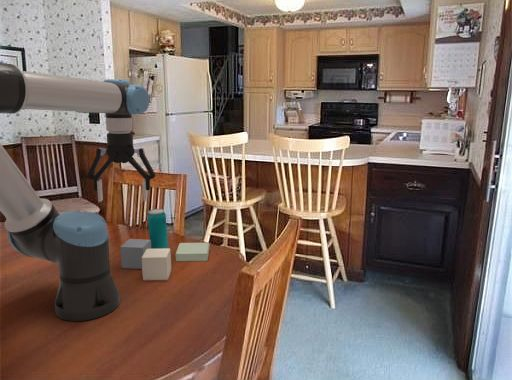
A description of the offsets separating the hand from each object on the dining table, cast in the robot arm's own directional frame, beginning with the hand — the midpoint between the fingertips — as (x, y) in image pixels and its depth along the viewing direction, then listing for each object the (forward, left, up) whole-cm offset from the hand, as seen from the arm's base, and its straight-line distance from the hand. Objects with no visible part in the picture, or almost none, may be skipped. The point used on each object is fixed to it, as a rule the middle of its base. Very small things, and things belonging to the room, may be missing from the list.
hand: (123, 200), depth 131 cm
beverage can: (+4, -10, -20) cm, 22 cm away
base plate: (+2, -21, -19) cm, 29 cm away
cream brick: (-13, -12, -20) cm, 26 cm away
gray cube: (-4, -4, -20) cm, 20 cm away
